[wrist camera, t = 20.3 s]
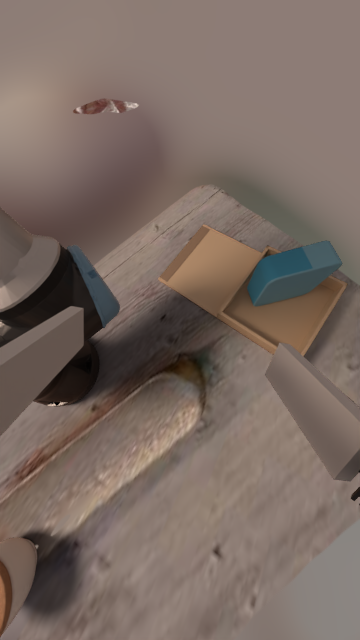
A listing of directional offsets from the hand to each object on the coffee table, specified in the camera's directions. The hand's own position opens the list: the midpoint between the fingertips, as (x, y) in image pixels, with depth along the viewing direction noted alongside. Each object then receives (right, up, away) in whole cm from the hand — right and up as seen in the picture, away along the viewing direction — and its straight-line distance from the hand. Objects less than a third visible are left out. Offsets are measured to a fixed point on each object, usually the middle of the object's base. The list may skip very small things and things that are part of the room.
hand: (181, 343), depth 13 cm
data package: (+21, +8, +29) cm, 36 cm away
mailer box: (+14, +10, +31) cm, 35 cm away
